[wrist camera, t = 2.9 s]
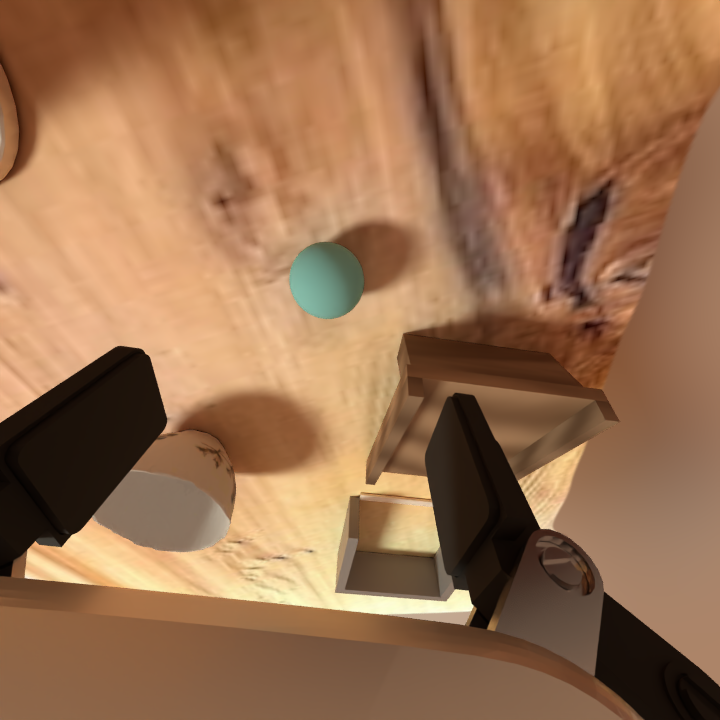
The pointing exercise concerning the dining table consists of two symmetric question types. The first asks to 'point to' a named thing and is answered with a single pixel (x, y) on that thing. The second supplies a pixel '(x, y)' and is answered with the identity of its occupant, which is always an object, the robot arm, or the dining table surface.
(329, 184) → the dining table surface
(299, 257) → the teal rubber ball
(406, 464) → the walnut ramp
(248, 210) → the dining table surface
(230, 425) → the dining table surface
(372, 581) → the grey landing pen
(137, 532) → the teacup
